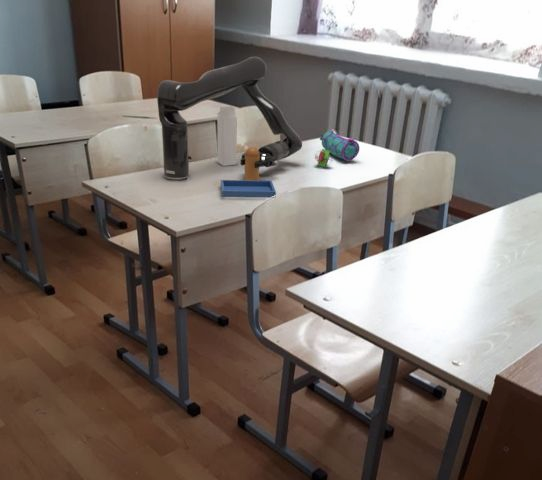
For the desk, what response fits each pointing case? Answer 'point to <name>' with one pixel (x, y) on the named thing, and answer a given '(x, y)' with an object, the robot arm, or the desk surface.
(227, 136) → the milk
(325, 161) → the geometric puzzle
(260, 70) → the robot arm
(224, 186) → the tray
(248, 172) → the orange rounded cylinder
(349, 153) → the pencil case
